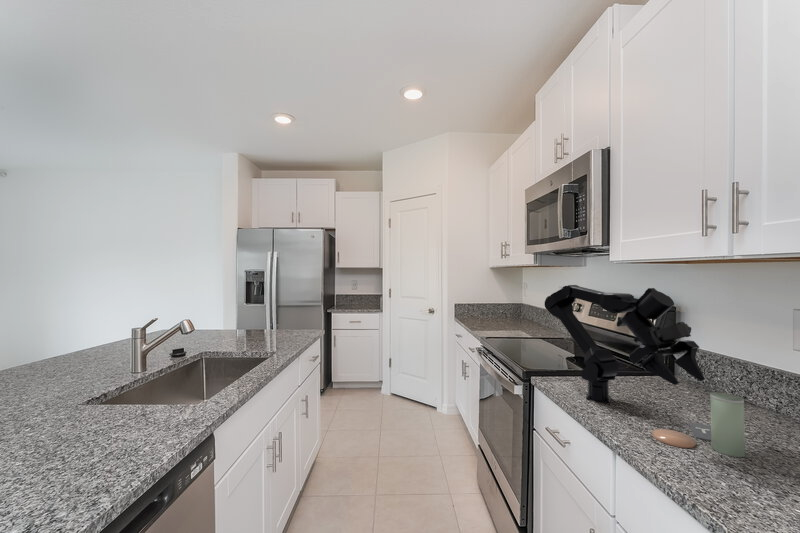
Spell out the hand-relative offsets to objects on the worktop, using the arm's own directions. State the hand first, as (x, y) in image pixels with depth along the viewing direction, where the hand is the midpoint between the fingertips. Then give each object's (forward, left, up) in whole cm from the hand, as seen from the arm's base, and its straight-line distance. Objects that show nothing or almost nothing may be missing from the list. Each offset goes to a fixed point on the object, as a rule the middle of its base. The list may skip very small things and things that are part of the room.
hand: (690, 382), depth 82 cm
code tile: (-4, +5, -13) cm, 14 cm away
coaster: (+5, -4, -13) cm, 14 cm away
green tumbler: (+5, +6, -13) cm, 15 cm away
